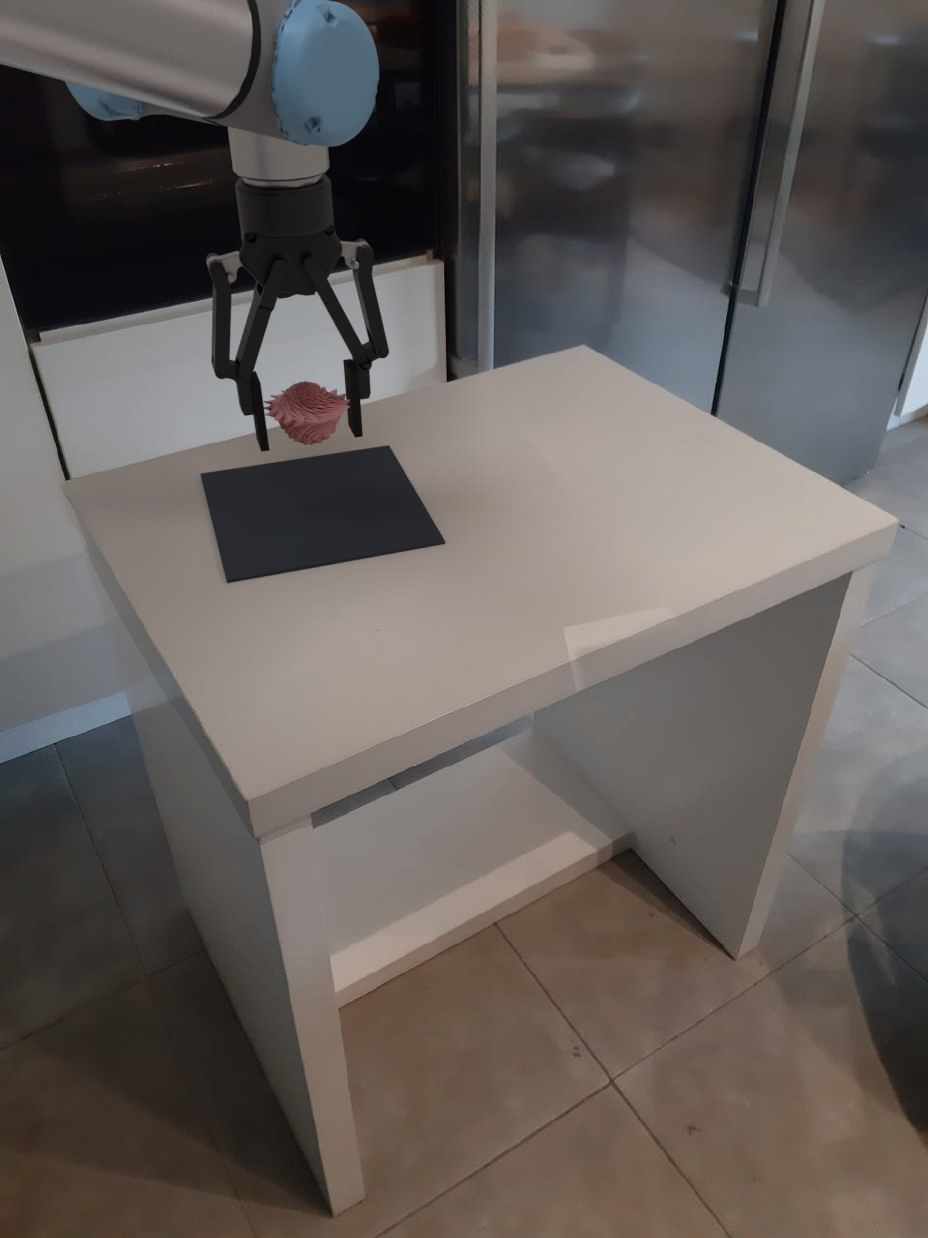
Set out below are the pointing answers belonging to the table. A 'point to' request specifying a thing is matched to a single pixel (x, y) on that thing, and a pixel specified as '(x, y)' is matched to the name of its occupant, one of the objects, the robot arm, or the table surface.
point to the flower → (307, 411)
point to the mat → (315, 512)
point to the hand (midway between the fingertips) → (309, 437)
